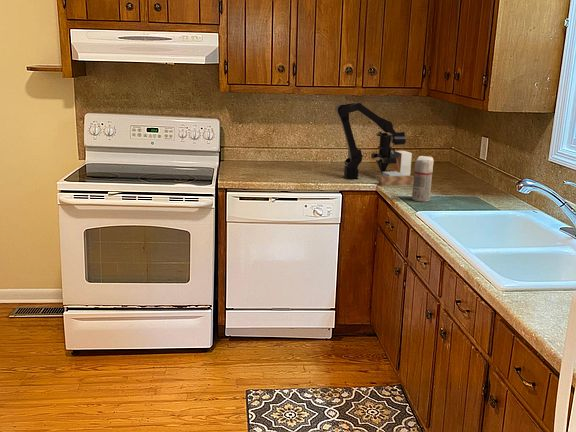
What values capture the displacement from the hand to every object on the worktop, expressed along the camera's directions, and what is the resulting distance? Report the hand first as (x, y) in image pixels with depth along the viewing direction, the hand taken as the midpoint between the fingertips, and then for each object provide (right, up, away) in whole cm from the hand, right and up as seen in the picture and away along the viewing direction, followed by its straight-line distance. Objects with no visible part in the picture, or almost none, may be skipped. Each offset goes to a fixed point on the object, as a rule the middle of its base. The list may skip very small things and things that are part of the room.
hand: (382, 174), depth 328 cm
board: (+5, -6, -14) cm, 16 cm away
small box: (+12, 0, +10) cm, 15 cm away
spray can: (+10, -15, -46) cm, 49 cm away
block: (+4, -5, -8) cm, 10 cm away
